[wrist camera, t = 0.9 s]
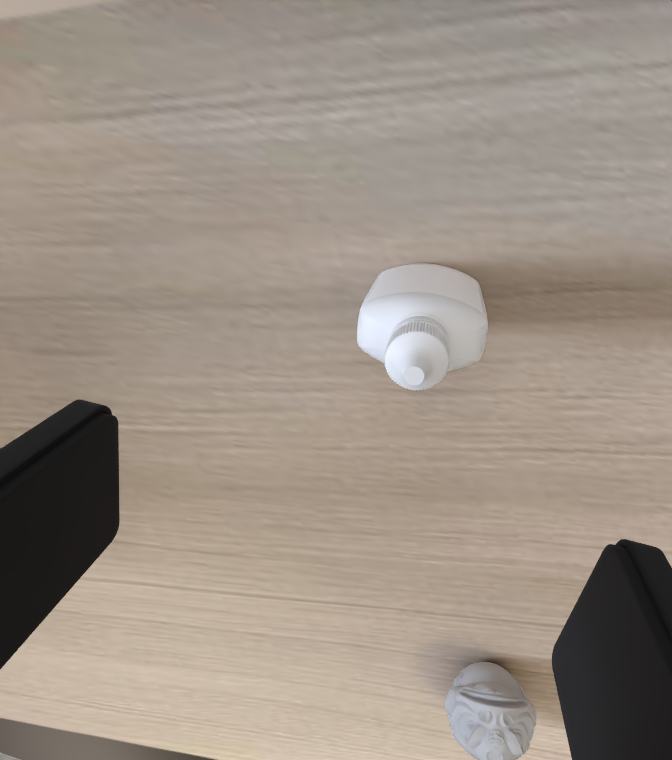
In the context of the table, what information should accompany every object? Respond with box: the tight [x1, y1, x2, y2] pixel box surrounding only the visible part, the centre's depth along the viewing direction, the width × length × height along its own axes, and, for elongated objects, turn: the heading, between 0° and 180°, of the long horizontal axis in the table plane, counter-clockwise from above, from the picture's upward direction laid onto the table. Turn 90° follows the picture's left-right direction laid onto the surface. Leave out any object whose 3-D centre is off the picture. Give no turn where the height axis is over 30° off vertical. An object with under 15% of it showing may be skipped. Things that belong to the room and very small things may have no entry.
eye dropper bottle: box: [357, 263, 488, 391], centre depth 23 cm, size 4×6×12 cm
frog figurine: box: [445, 662, 536, 760], centre depth 35 cm, size 6×7×7 cm
